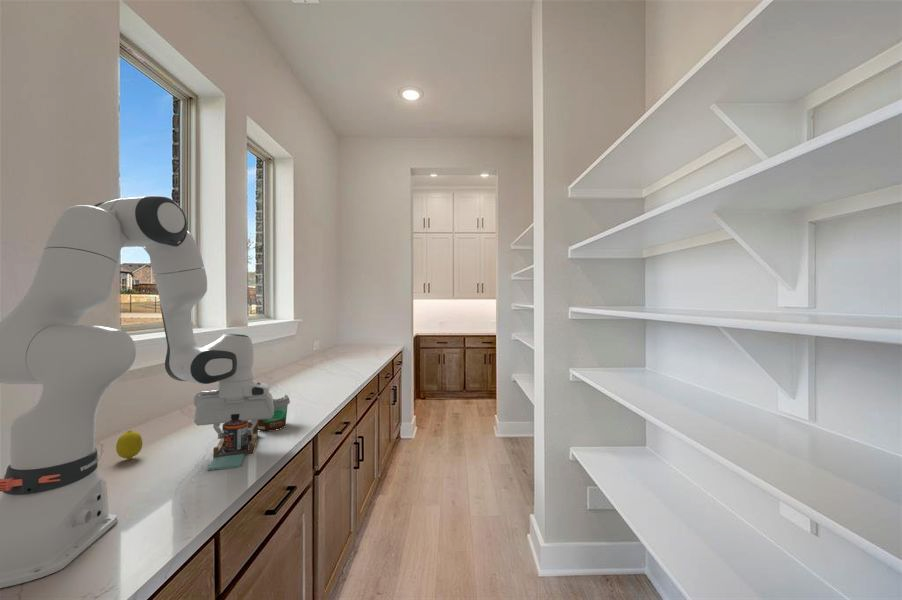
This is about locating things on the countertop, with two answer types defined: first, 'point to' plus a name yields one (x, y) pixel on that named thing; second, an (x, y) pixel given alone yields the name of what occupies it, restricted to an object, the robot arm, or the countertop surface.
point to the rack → (246, 452)
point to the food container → (276, 415)
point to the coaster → (226, 462)
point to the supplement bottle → (235, 434)
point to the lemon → (129, 444)
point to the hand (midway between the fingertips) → (235, 436)
